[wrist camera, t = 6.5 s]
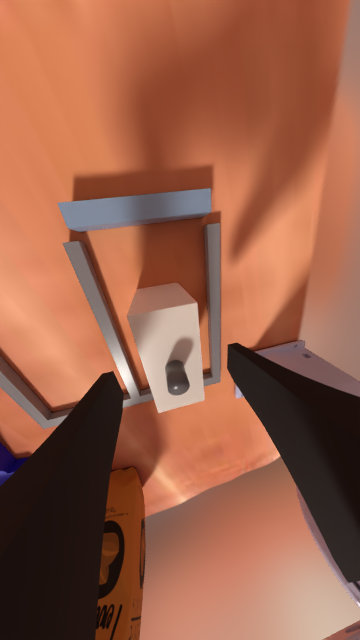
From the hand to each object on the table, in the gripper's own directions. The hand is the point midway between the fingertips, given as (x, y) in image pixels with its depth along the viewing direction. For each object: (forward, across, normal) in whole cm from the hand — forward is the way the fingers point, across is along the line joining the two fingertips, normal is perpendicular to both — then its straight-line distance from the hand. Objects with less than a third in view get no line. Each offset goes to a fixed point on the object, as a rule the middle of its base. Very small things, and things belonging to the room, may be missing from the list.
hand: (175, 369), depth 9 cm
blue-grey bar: (+6, 0, -9) cm, 11 cm away
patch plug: (+6, 0, 0) cm, 6 cm away
